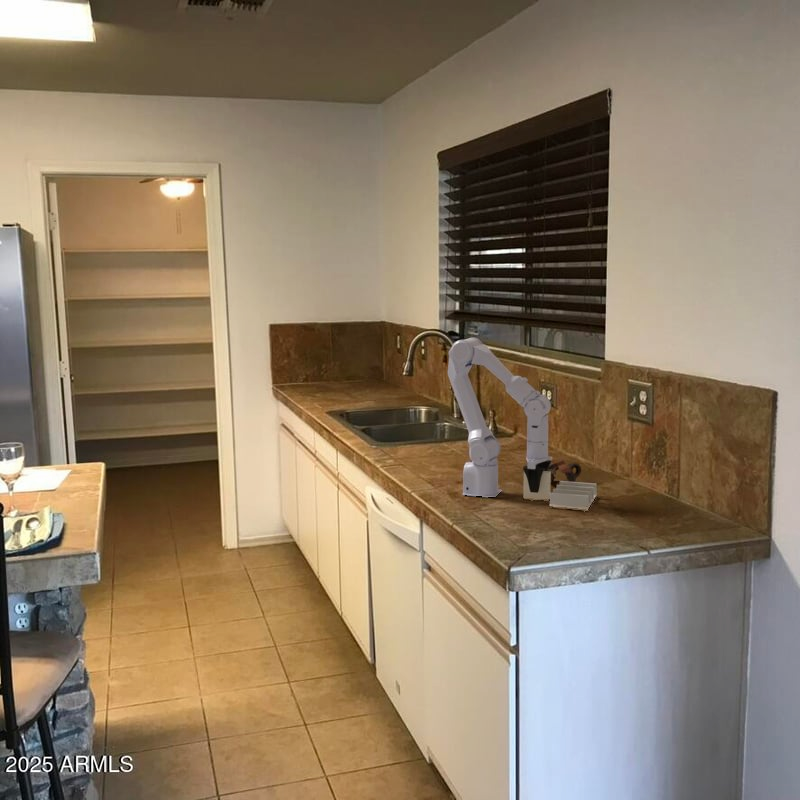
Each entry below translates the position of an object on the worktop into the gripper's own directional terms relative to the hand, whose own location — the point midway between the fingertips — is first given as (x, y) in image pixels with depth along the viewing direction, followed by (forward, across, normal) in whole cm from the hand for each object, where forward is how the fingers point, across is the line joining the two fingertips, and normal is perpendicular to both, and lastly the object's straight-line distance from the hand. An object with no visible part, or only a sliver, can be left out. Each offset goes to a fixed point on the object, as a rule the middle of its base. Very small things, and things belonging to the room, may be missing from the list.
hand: (536, 489), depth 237 cm
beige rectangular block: (+3, 0, 0) cm, 3 cm away
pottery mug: (+3, +19, -3) cm, 20 cm away
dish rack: (+3, 0, -10) cm, 10 cm away
